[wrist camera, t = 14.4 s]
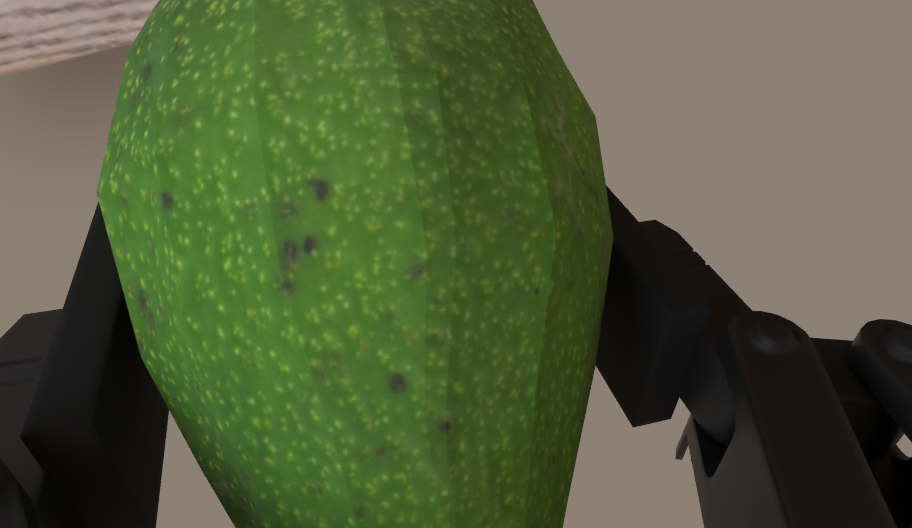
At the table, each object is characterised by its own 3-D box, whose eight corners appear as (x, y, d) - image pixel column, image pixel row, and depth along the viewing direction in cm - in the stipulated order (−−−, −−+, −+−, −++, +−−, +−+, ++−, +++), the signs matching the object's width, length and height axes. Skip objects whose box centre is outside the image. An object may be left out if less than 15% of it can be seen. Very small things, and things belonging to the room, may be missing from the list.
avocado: (371, -439, 6) (628, 981, 5) (599, -52, 12) (723, 545, 11) (-45, -56, 9) (43, 770, 8) (308, 79, 16) (381, 538, 15)
